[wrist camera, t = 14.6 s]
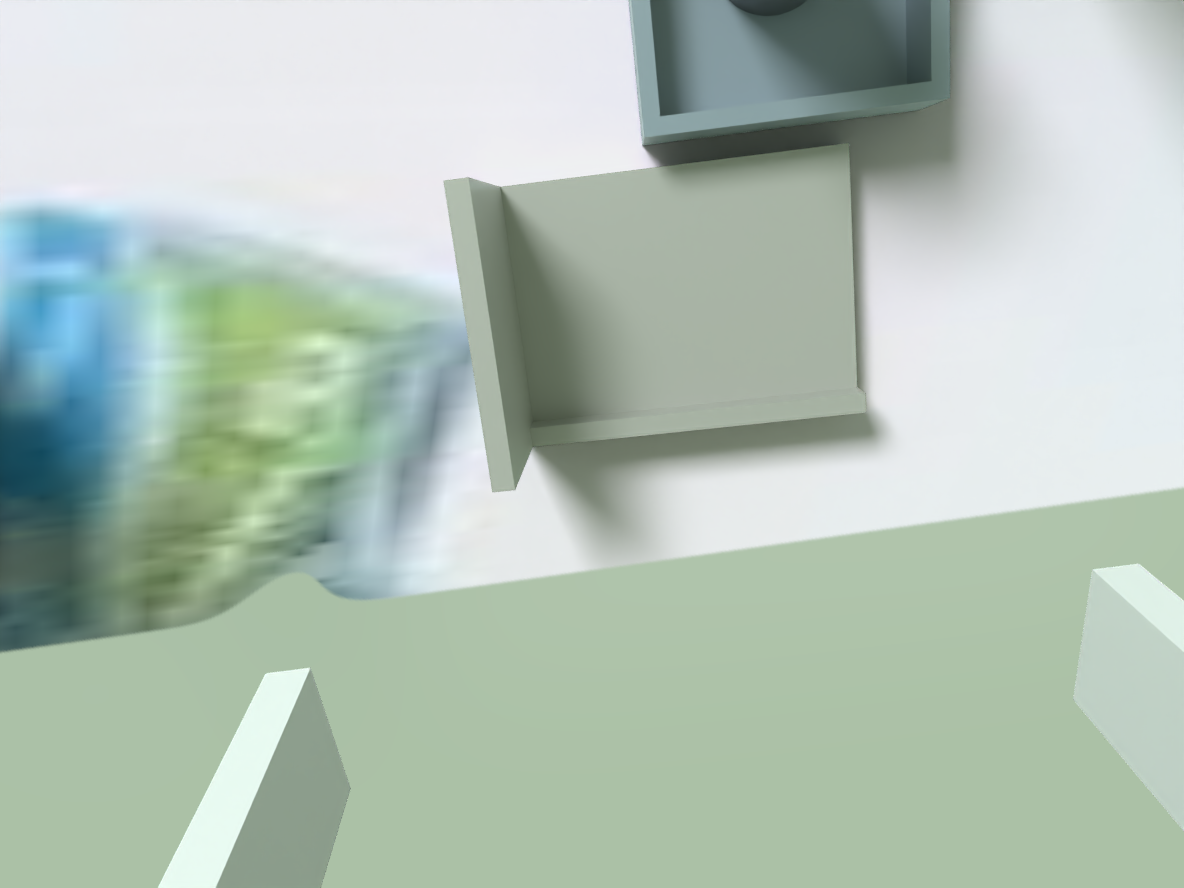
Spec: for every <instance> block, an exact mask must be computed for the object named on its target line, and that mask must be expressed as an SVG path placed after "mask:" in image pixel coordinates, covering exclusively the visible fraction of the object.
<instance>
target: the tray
mask: <svg viewBox="0 0 1184 888" xmlns="http://www.w3.org/2000/svg"><path fill="white" fill-rule="evenodd" d="M629 10H630V21H631V31H632V42H633V52H634V62H635V73H636V83H637V94H638V104H639V115H640V125H641V136H642V146H643V145H651V144H659V143H667V142H674V141H682V140H690V139H698V138H706V137H713V136H721V135H729V134H737V133H745V132H752V131H760V130H768V129H776V128H784V127H792V126H799V125H807V124H815V123H823V122H831V121H838V120H846V119H854V118H862V117H870V116H878V115H885V114H893V113H901V112H909V111H917V110H920V109H923V108H926V107H928V106H931V105H933V104H936V103H939V102H941V101H944V100H946V99H949V98H950V0H807V1H806V2H804V3H803V4H802V5H800V6H799V7H797V8H795V9H793V10H791V11H789V12H786V13H784V14H780V15H775V16H760V15H755V14H751V13H748V12H746V11H743V10H742V9H740V8H738V7H737V6H735V5H734V4H733V3H732V2H730V1H729V0H629Z"/></svg>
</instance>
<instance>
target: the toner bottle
mask: <svg viewBox="0 0 1184 888" xmlns="http://www.w3.org/2000/svg"><path fill="white" fill-rule="evenodd" d="M729 1H730V2H732V3H733V4H734V5H735V6H737V7H738V8H740V9H742V10H743V11H746V12H748V13H751V14H755V15H760V16H775V15H780V14H784V13H786V12H789V11H791V10H793V9H795V8H797V7H799V6H800V5H802V4H803V3H804V2H806V1H807V0H729Z"/></svg>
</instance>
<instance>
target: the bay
mask: <svg viewBox="0 0 1184 888" xmlns="http://www.w3.org/2000/svg"><path fill="white" fill-rule="evenodd" d="M444 187H445V194H446V200H447V206H448V213H449V219H450V225H451V232H452V238H453V245H454V251H455V257H456V264H457V270H458V276H459V283H460V289H461V296H462V302H463V308H464V315H465V321H466V327H467V334H468V340H469V346H470V353H471V359H472V366H473V372H474V378H475V385H476V391H477V397H478V404H479V410H480V417H481V423H482V429H483V436H484V442H485V448H486V455H487V461H488V467H489V474H490V480H491V487H492V492H501V491H510V490H515V489H516V487H517V484H518V482H519V479H520V477H521V474H522V472H523V469H524V467H525V465H526V462H527V460H528V457H529V455H530V452H531V450H532V448H533V447H539V446H548V445H558V444H568V443H577V442H587V441H597V440H606V439H616V438H626V437H635V436H645V435H654V434H664V433H674V432H683V431H693V430H703V429H712V428H722V427H732V426H741V425H751V424H761V423H770V422H780V421H790V420H799V419H809V418H818V417H828V416H838V415H847V414H857V413H866V393H865V392H863V391H862V390H860V389H859V388H857V365H856V335H855V305H854V275H853V245H852V215H851V185H850V155H849V143H845V144H837V145H829V146H821V147H813V148H805V149H797V150H790V151H782V152H774V153H766V154H758V155H750V156H742V157H734V158H726V159H718V160H710V161H702V162H694V163H686V164H678V165H670V166H663V167H655V168H647V169H639V170H631V171H623V172H615V173H607V174H599V175H591V176H583V177H575V178H567V179H559V180H551V181H543V182H536V183H528V184H520V185H512V186H504V187H499V186H495V185H492V184H489V183H485V182H482V181H479V180H475V179H472V178H460V179H453V180H445V181H444Z"/></svg>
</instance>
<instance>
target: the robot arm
mask: <svg viewBox="0 0 1184 888" xmlns="http://www.w3.org/2000/svg"><path fill="white" fill-rule="evenodd" d="M1073 700H1074V701H1075V702H1076V703H1077V705H1078V706H1079V707H1080V708H1081V709H1082V711H1083V712H1084V713H1085V714H1086V715H1087V717H1088V718H1089V719H1090V720H1091V721H1092V722H1093V724H1094V725H1095V726H1096V727H1097V729H1098V730H1099V731H1100V732H1101V733H1102V734H1103V736H1104V737H1105V738H1106V739H1107V740H1108V742H1109V743H1110V744H1111V745H1112V746H1113V747H1114V749H1115V750H1116V751H1117V752H1118V754H1120V756H1121V757H1122V758H1123V759H1124V761H1125V762H1126V763H1127V764H1128V765H1129V767H1130V768H1131V769H1132V770H1133V771H1134V773H1135V774H1136V775H1137V776H1138V777H1139V778H1140V780H1141V781H1142V782H1143V783H1144V784H1145V786H1146V787H1147V788H1148V789H1149V790H1150V792H1151V793H1152V794H1153V795H1154V796H1155V798H1156V799H1157V800H1158V801H1159V802H1160V803H1161V805H1162V806H1163V807H1164V808H1165V809H1166V811H1167V812H1168V813H1169V814H1170V815H1171V817H1172V818H1173V819H1174V820H1175V821H1176V823H1177V824H1178V825H1179V826H1180V827H1181V829H1182V830H1183V831H1184V601H1183V600H1182V599H1181V598H1180V597H1179V596H1177V595H1176V594H1175V593H1174V592H1172V591H1171V590H1170V589H1169V588H1168V587H1166V586H1165V585H1164V584H1163V583H1161V582H1160V581H1159V580H1158V579H1157V578H1155V577H1154V576H1153V575H1152V574H1150V573H1149V572H1148V571H1147V570H1146V569H1144V568H1143V567H1142V566H1141V565H1140V564H1133V565H1125V566H1117V567H1109V568H1101V569H1093V570H1092V575H1091V581H1090V588H1089V595H1088V602H1087V609H1086V615H1085V622H1084V629H1083V636H1082V642H1081V649H1080V656H1079V663H1078V670H1077V676H1076V683H1075V690H1074V697H1073ZM349 791H350V785H349V782H348V779H347V776H346V773H345V770H344V767H343V764H342V761H341V758H340V755H339V752H338V749H337V746H336V743H335V740H334V737H333V734H332V731H331V728H330V725H329V722H328V719H327V716H326V713H325V710H324V707H323V704H322V701H321V698H320V695H319V692H318V689H317V686H316V683H315V680H314V677H313V674H312V671H311V668H305V669H297V670H289V671H281V672H274V673H266V674H265V676H264V678H263V680H262V682H261V684H260V686H259V688H258V690H257V692H256V694H255V696H254V698H253V700H252V702H251V704H250V706H249V708H248V710H247V712H246V713H245V716H244V717H243V719H242V721H241V724H240V725H239V727H238V729H237V732H236V733H235V735H234V737H233V739H232V741H231V743H230V745H229V747H228V749H227V751H226V753H225V755H224V757H223V759H222V761H221V763H220V765H219V767H218V769H217V771H216V773H215V775H214V777H213V779H212V781H211V783H210V785H209V787H208V789H207V791H206V793H205V795H204V797H203V799H202V801H201V803H200V805H199V807H198V809H197V811H196V813H195V815H194V817H193V819H192V821H191V823H190V825H189V827H188V829H187V831H186V833H185V835H184V837H183V839H182V841H181V843H180V845H179V847H178V849H177V850H176V852H175V854H174V857H173V858H172V860H171V863H170V864H169V866H168V868H167V870H166V872H165V874H164V876H163V878H162V880H161V882H160V884H159V886H158V888H321V885H322V882H323V879H324V875H325V872H326V868H327V865H328V862H329V859H330V855H331V852H332V849H333V845H334V842H335V839H336V835H337V832H338V828H339V825H340V822H341V818H342V815H343V812H344V808H345V805H346V802H347V799H348V795H349Z"/></svg>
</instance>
